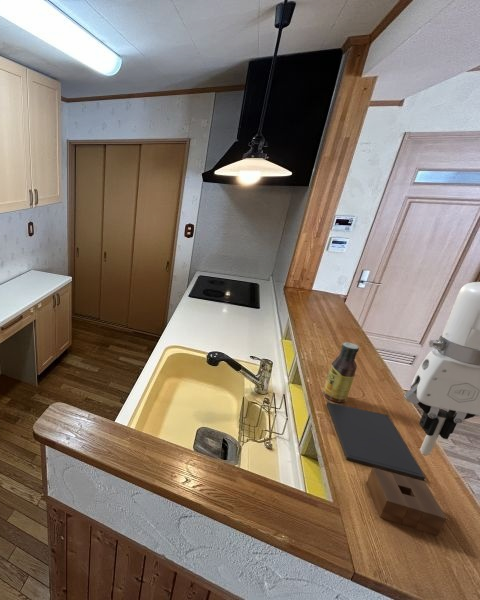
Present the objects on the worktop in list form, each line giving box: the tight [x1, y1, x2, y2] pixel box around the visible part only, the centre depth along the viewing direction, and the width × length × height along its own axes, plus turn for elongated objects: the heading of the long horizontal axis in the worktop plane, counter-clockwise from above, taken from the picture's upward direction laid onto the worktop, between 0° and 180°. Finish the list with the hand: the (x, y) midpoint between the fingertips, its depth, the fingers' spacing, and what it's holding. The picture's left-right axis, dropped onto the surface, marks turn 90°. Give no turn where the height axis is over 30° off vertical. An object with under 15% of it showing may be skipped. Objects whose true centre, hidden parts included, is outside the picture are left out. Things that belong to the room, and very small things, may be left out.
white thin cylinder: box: [419, 408, 449, 456], centre depth 64 cm, size 2×2×11 cm
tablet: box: [325, 401, 426, 482], centre depth 90 cm, size 15×24×1 cm, turn 154°
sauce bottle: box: [323, 341, 360, 403], centre depth 103 cm, size 6×6×20 cm
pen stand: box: [365, 467, 448, 537], centre depth 70 cm, size 9×9×5 cm
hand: (433, 432), depth 64 cm, fingers closed on white thin cylinder, 1 cm apart
